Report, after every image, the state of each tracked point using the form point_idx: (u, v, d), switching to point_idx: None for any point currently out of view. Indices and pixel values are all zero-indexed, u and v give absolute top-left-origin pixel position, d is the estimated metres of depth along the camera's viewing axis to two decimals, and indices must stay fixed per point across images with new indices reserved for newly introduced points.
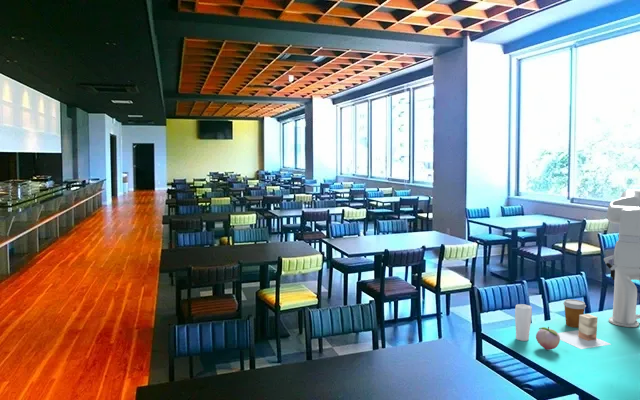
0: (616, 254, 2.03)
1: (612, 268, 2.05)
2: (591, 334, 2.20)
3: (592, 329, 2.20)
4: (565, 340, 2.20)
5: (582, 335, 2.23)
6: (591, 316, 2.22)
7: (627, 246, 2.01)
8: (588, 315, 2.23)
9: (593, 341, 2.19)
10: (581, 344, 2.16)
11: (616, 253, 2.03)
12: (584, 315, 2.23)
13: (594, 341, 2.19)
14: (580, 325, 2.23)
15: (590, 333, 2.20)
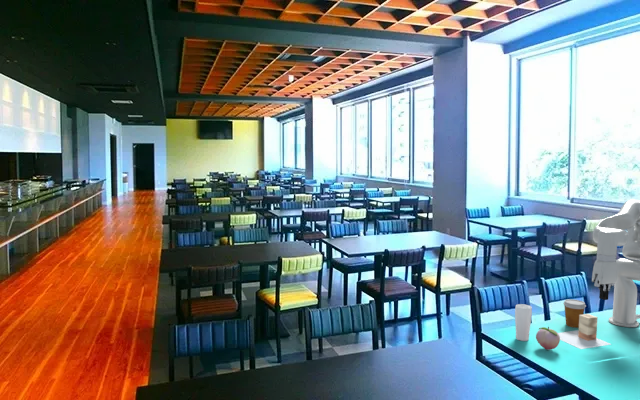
0: (601, 273, 2.20)
1: (605, 289, 2.22)
2: (591, 334, 2.20)
3: (592, 329, 2.20)
4: (565, 340, 2.20)
5: (582, 335, 2.23)
6: (591, 316, 2.22)
7: (609, 265, 2.20)
8: (588, 315, 2.23)
9: (593, 341, 2.19)
10: (581, 344, 2.16)
11: (601, 273, 2.20)
12: (584, 315, 2.23)
13: (594, 341, 2.19)
14: (580, 325, 2.23)
15: (590, 333, 2.20)
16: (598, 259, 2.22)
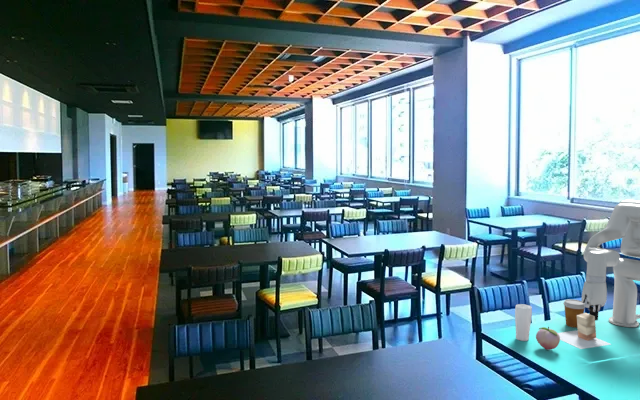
0: (591, 295, 2.19)
1: (594, 310, 2.21)
2: (590, 333, 2.20)
3: (591, 328, 2.20)
4: (565, 340, 2.20)
5: (581, 335, 2.23)
6: (588, 315, 2.21)
7: (599, 286, 2.19)
8: (585, 315, 2.22)
9: (593, 341, 2.19)
10: (581, 344, 2.16)
11: (591, 294, 2.19)
12: (581, 315, 2.22)
13: (594, 341, 2.19)
14: (578, 325, 2.23)
15: (589, 333, 2.20)
16: (588, 280, 2.21)
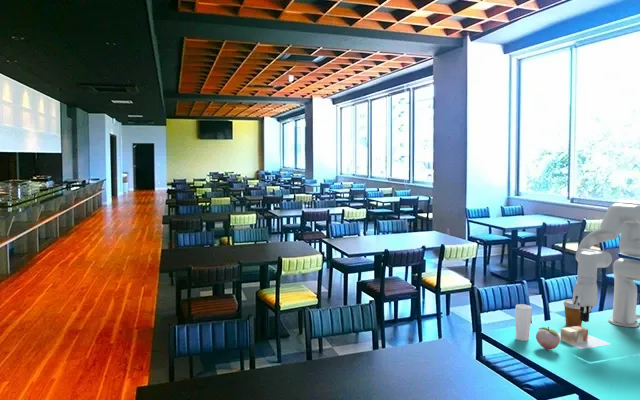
0: (582, 296, 2.17)
1: (585, 311, 2.20)
2: (583, 336, 2.19)
3: (579, 336, 2.18)
4: None
5: None
6: (566, 334, 2.18)
7: (589, 287, 2.18)
8: (564, 333, 2.19)
9: (593, 341, 2.19)
10: (581, 344, 2.16)
11: (582, 295, 2.17)
12: (563, 337, 2.20)
13: (594, 341, 2.19)
14: None
15: (582, 338, 2.19)
16: (578, 281, 2.20)
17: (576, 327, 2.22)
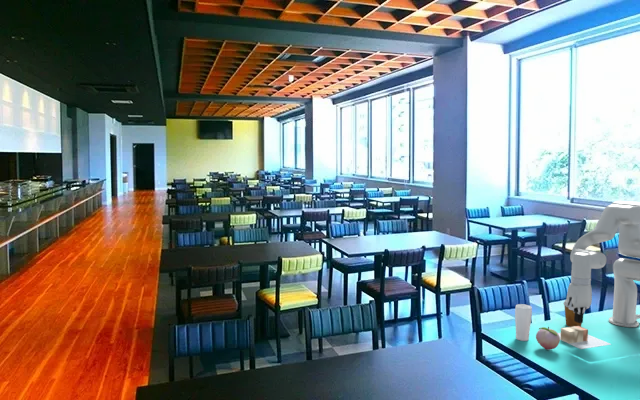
0: (575, 297, 2.16)
1: (579, 312, 2.19)
2: (583, 336, 2.19)
3: (579, 336, 2.18)
4: None
5: None
6: (566, 334, 2.18)
7: (583, 288, 2.17)
8: (564, 333, 2.19)
9: (593, 341, 2.19)
10: (581, 344, 2.16)
11: (575, 296, 2.16)
12: (563, 337, 2.20)
13: (594, 341, 2.19)
14: None
15: (582, 338, 2.19)
16: (572, 282, 2.19)
17: (576, 327, 2.22)
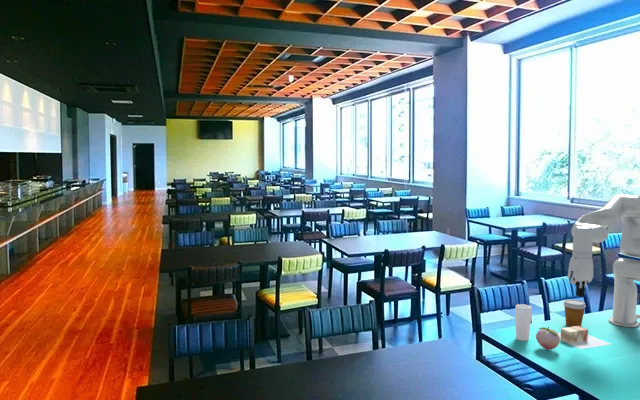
0: (577, 271, 2.15)
1: (581, 286, 2.18)
2: (583, 336, 2.19)
3: (579, 336, 2.18)
4: None
5: None
6: (566, 334, 2.18)
7: (585, 261, 2.16)
8: (564, 333, 2.19)
9: (593, 341, 2.19)
10: (581, 344, 2.16)
11: (577, 270, 2.15)
12: (563, 337, 2.20)
13: (594, 341, 2.19)
14: None
15: (582, 338, 2.19)
16: (574, 256, 2.18)
17: (576, 327, 2.22)
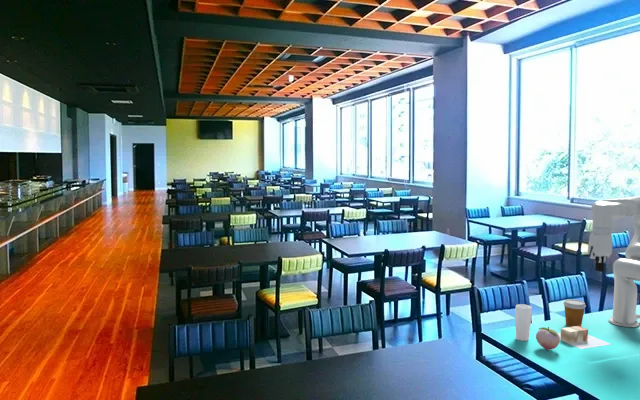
0: (597, 246, 2.24)
1: (600, 261, 2.27)
2: (583, 336, 2.19)
3: (579, 336, 2.18)
4: None
5: None
6: (566, 334, 2.18)
7: (604, 237, 2.24)
8: (564, 333, 2.19)
9: (593, 341, 2.19)
10: (581, 344, 2.16)
11: (597, 245, 2.24)
12: (563, 337, 2.20)
13: (594, 341, 2.19)
14: None
15: (582, 338, 2.19)
16: (593, 232, 2.26)
17: (576, 327, 2.22)
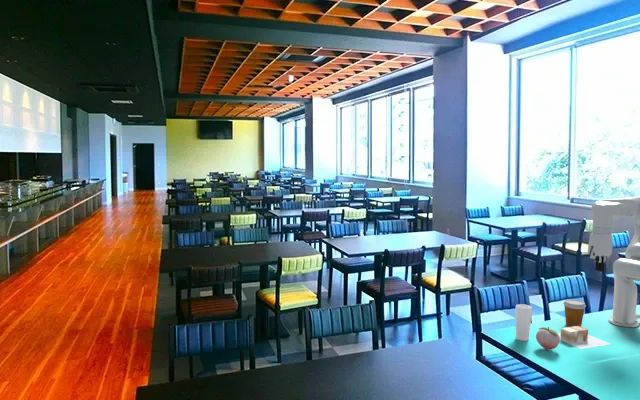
0: (597, 245, 2.24)
1: (600, 261, 2.27)
2: (583, 336, 2.19)
3: (579, 336, 2.18)
4: None
5: None
6: (566, 334, 2.18)
7: (605, 237, 2.25)
8: (564, 333, 2.19)
9: (593, 341, 2.19)
10: (581, 344, 2.16)
11: (597, 245, 2.24)
12: (563, 337, 2.20)
13: (594, 341, 2.19)
14: None
15: (582, 338, 2.19)
16: (594, 231, 2.27)
17: (576, 327, 2.22)
